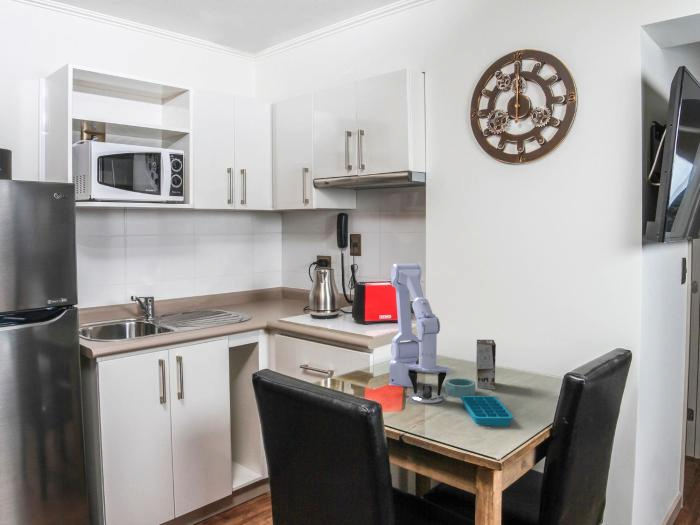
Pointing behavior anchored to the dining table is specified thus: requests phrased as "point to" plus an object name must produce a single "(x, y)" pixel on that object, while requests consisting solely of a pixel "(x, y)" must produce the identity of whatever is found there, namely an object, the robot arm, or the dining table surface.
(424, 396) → the lid
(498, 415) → the ice cube tray
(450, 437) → the dining table surface
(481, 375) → the coffee box
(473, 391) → the bowl
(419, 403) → the mat
